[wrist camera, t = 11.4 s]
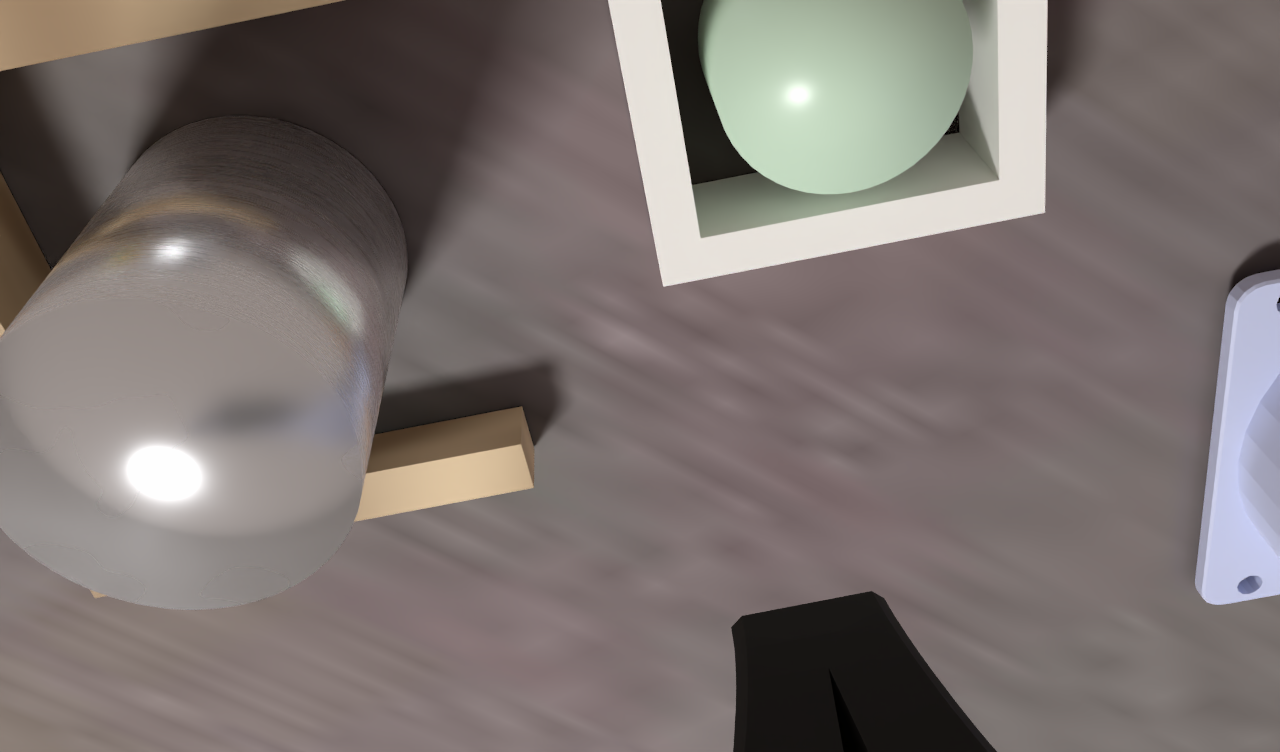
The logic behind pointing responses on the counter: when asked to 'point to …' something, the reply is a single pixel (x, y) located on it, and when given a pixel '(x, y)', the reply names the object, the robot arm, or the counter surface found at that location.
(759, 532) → the counter surface
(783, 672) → the robot arm
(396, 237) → the cylinder
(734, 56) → the button
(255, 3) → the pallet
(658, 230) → the button housing
